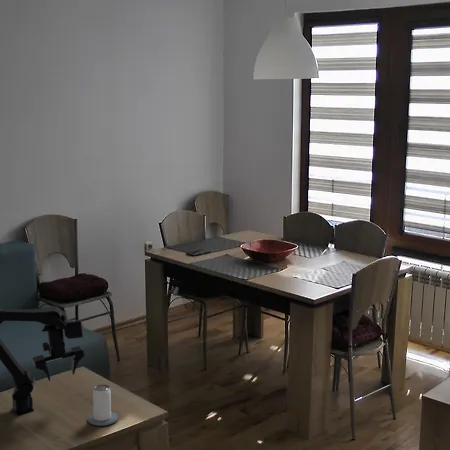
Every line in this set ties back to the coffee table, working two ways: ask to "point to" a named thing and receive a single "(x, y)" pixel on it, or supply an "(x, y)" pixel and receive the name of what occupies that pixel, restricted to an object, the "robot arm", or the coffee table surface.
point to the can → (101, 402)
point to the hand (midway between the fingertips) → (61, 377)
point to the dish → (101, 423)
